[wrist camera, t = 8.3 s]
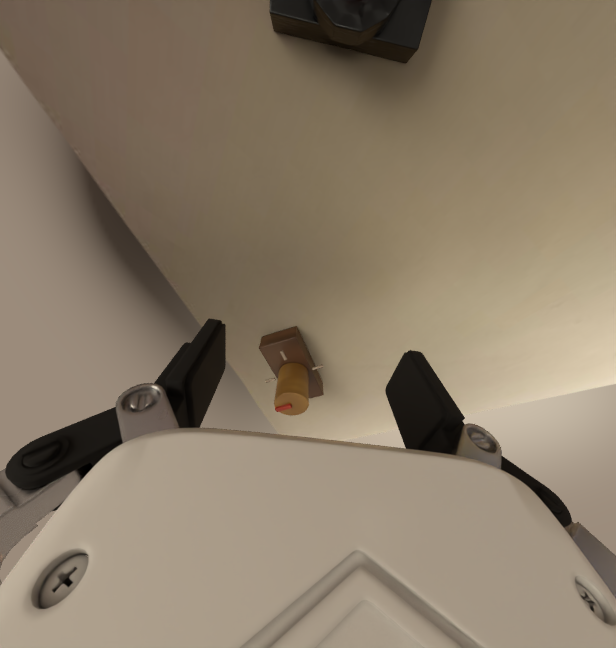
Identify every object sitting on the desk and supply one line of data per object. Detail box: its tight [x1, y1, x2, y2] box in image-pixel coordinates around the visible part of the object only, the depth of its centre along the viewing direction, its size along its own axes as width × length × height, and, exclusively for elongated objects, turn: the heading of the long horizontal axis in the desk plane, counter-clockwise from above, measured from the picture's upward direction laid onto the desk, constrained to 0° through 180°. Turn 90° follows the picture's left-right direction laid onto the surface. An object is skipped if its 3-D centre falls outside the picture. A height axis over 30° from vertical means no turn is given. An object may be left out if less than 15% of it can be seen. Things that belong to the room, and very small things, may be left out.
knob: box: [274, 363, 309, 415], centre depth 29 cm, size 4×4×5 cm
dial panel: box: [259, 326, 324, 398], centre depth 32 cm, size 11×8×3 cm
